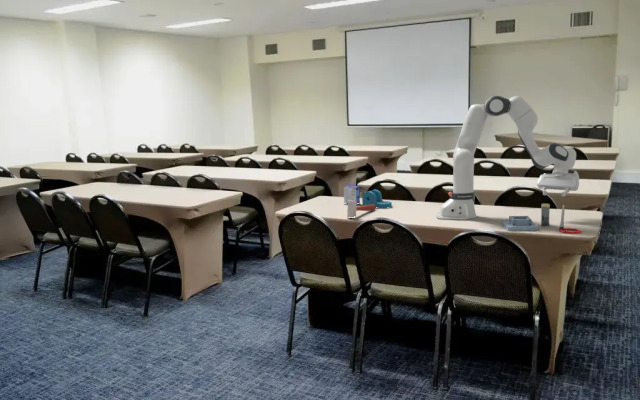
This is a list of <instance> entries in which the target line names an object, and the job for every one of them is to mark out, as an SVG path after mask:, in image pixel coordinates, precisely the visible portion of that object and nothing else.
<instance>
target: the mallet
mask: <svg viewBox="0 0 640 400" xmlns="http://www.w3.org/2000/svg"><path fill="white" fill-rule="evenodd" d="M374 209H375V210H376V209H377V208H376V206H375V205H374V204H373V205H365V206H363V205H362V206H361V205H360V206H358V205H357V202H356V201H348V205H347V211H346V213H347V217H354V216H356V217H357V211H362V212H363V211H364V212H366V211H367V212H369V211H370V210H373V211H375V210H374ZM370 212H371V211H370ZM347 217H346V218H347Z"/></svg>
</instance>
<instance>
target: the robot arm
mask: <svg viewBox="0 0 640 400" xmlns="http://www.w3.org/2000/svg"><path fill="white" fill-rule="evenodd" d="M504 114H507V115H508V116H509V117H510V118H511V120H513V122H514V123H515V125H516V127H517V134H518V137H519V139H520V141H521V142H522V144H523V146H524V148H525V150H526V151H527V153H528V154H529V157H530V160H531V163H532V164H533V165H534V167H536V168H537V169H539V170H540V169H541V170H543V169H546V168H548V167H549V166H550V165H554V167H553V169H552V173H543V174H540V175H539V178H538V180H537V182H536V185H537V188H538V189H541V190H542V195H543V196H547V195H548V192H547V190H555V191H556V190H557V191H562V192H561V197H566V195H567V194H568V193H570V191H571V192H572V191H573V192H576V191H578V190H579V187H580V181H579V180H580V175H579V173H578V171H577V170H574V166H575V164H576V159H577V151H576V150H575V149H574V148H572V147H571V146H562V145H561V144H559V143H558V142H557V143H556V142H554V143H551V144H549V145H546V146H545V147H544V148H539V146H538V144H537V143H536V141H535V139H534V136H533V131H534V129H535V127H536V126H537V124H538V120H539V119H538V115H537V113H536V112H535V110H534V109H533V108H532V106H531V105H530V104H529V103H528V102H527V100H525V99H524V98H523V97H521V96H519V95H514V96H511V97H510V98H506V97H503V96H501V95H497V94H496V95H492V96H490V97H488V99H487V100H486V101H485V102H484V103H483V104H481V103H474V104H472V105H471V106H470V107H469V109H468V110H467V113H466V115H465V117H464V119H463V123H462V127H461V130H460V133H459V136H458V139H457V142H456V145H455V148H454V151H453V153H452V154H453V155H452V159H453V160H452V161H453V167H452V169H453V173H452V175H453V176H452V181H453V186H452V187H453V188H452V189H453V191H449V192H448V196H449V199H448V200H446V201H445V202H444V203H442V204H441V205H440V208H439V212H437V213H435V218H436V217H437V219H438V218H439V220H459V221H460V220H461V221H462V220H463V221H464V220H467V221H468V220H469V219H470V220H471V219H475V218H476V217H477V213H476V209H475V191H474V182H475V181H474V180H475V179H474V175H475V172H474V171H475V154H476V150H477V148H478V145H479V142H480V140H481V136H482V133H483V130H484V127H485V123H486V120H487V119H488V118H489V117H498V116H502V115H504Z"/></svg>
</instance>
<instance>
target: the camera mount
mask: <svg viewBox="0 0 640 400" xmlns="http://www.w3.org/2000/svg"><path fill="white" fill-rule="evenodd" d="M361 198H362V199H361V200H362V201H361V202H362V206H365V205H373V204H374V205H375V206H376V207H379V208H378V209H388V208H387V207H391V206H392V205H393V204H392V201H388V200H387V201H386V200H383V195H382V192H381V191H380V190H378V189H372V190H369V191H368V190H367V191H366V192H364V193H363V194H362V196H361ZM392 207H393V206H392ZM392 207H391V208H392Z"/></svg>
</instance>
